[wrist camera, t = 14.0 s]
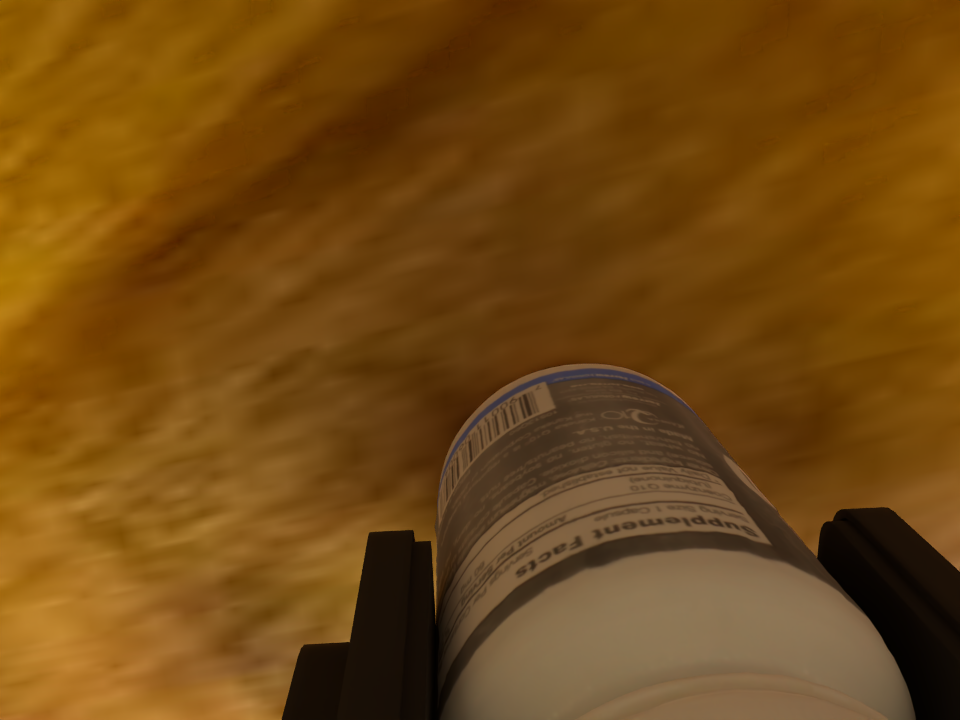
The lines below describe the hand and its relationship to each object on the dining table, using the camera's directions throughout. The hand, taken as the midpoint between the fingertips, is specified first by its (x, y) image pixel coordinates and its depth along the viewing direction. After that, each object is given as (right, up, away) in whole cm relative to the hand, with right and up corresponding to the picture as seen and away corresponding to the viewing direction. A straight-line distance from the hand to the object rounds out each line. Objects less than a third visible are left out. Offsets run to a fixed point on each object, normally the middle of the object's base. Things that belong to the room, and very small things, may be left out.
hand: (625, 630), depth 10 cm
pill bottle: (0, +1, +4) cm, 4 cm away
